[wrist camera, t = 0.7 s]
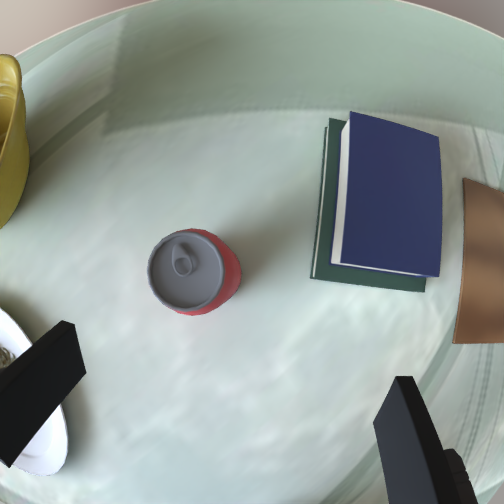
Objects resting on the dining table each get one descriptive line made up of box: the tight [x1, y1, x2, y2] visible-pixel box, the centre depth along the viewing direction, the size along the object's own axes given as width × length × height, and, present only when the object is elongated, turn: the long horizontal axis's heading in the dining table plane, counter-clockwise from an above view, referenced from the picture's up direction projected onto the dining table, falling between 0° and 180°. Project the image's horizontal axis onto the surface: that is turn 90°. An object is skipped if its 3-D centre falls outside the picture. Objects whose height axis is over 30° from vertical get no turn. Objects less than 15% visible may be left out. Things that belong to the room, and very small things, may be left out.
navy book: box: [329, 111, 442, 278], centre depth 28 cm, size 15×10×4 cm
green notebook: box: [310, 118, 426, 292], centre depth 31 cm, size 18×13×2 cm
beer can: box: [147, 228, 242, 316], centre depth 26 cm, size 7×7×12 cm
